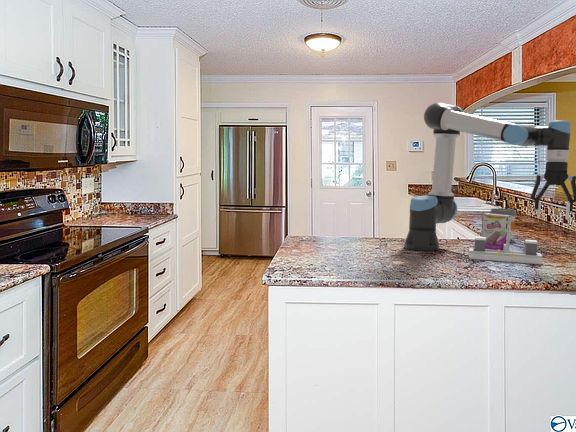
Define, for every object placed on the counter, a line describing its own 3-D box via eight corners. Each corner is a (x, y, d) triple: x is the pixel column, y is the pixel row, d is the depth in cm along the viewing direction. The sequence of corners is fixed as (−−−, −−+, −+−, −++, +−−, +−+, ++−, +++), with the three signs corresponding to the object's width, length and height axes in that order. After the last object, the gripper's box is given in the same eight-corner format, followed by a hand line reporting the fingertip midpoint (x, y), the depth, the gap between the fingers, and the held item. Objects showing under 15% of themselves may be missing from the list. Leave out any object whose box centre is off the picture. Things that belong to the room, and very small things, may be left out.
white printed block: (491, 239, 258) (493, 210, 257) (486, 235, 271) (488, 208, 269) (517, 240, 256) (519, 211, 255) (510, 236, 269) (512, 208, 267)
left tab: (474, 252, 206) (475, 237, 206) (474, 250, 210) (474, 236, 210) (485, 253, 205) (485, 238, 204) (484, 251, 209) (485, 237, 208)
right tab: (525, 256, 200) (526, 241, 200) (523, 254, 204) (524, 239, 204) (536, 257, 199) (537, 241, 198) (535, 255, 203) (536, 240, 202)
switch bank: (469, 258, 205) (469, 244, 204) (468, 254, 214) (469, 240, 213) (542, 264, 196) (543, 249, 195) (538, 259, 205) (540, 245, 205)
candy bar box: (479, 250, 226) (482, 213, 224) (484, 248, 229) (486, 213, 227) (505, 253, 218) (507, 216, 216) (509, 252, 222) (512, 215, 220)
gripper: (527, 160, 195) (522, 218, 198) (591, 161, 188) (586, 221, 191) (524, 160, 202) (520, 216, 205) (587, 161, 195) (582, 219, 198)
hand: (552, 218), depth 198 cm, fingers open, 9 cm apart
